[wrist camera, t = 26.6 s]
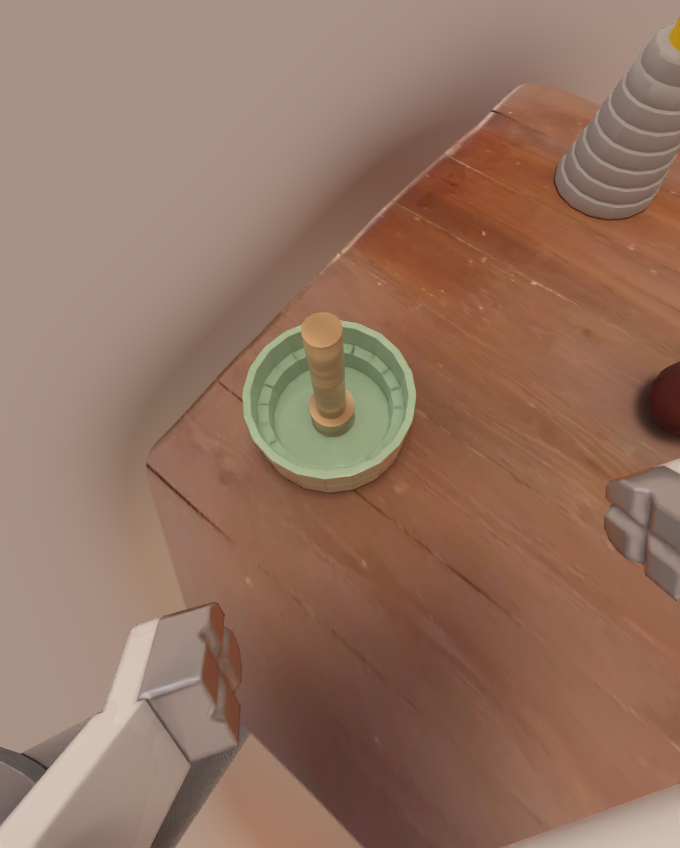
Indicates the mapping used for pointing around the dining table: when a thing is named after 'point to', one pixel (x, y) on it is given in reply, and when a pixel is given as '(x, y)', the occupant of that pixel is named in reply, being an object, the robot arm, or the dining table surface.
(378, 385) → the mixing bowl
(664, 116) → the soap bottle
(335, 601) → the dining table surface
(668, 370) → the potato
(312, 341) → the muddler
